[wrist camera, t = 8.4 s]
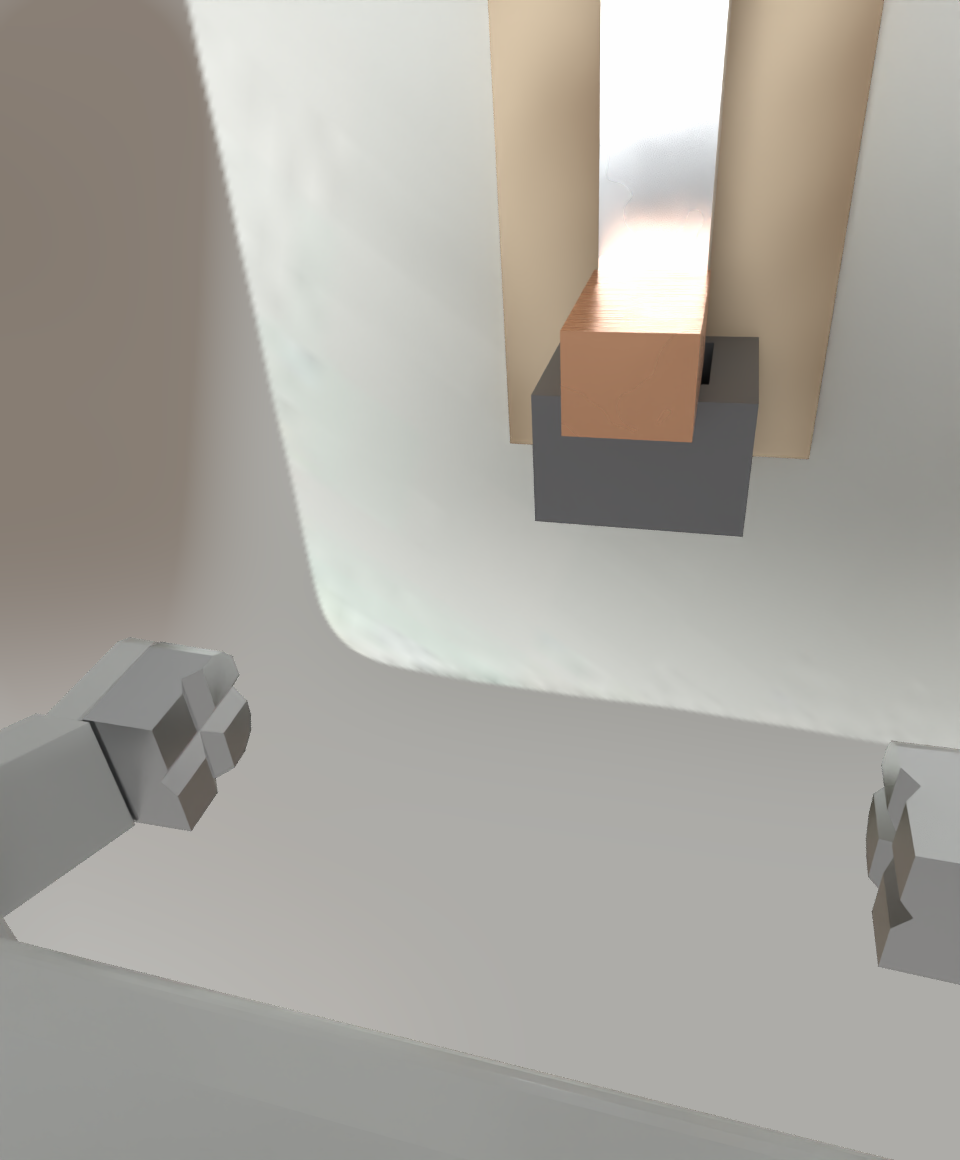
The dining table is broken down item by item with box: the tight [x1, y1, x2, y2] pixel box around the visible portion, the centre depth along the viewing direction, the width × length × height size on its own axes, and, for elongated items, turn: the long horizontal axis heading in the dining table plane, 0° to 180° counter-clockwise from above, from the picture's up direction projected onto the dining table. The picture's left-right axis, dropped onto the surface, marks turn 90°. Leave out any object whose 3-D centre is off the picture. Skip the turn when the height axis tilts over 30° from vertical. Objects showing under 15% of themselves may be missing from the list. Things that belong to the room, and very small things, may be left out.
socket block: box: [531, 336, 759, 537], centre depth 26 cm, size 6×4×5 cm, turn 94°
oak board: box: [488, 0, 884, 459], centre depth 23 cm, size 10×24×1 cm, turn 4°
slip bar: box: [560, 0, 732, 443], centre depth 20 cm, size 3×15×8 cm, turn 4°
